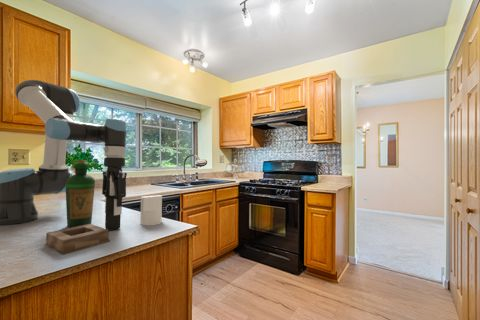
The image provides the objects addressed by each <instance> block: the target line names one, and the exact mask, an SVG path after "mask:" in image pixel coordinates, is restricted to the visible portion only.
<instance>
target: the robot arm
mask: <svg viewBox="0 0 480 320" xmlns="http://www.w3.org/2000/svg"><path fill="white" fill-rule="evenodd" d="M14 95H15V98H16V99H17V100H18V101H19V102H20V104H21V105H23V106H24V107H26V108H27V107H28V108H29V109H30V110H31V111H32V112H33V113H34V114H35V115H36V116H37V117H38V118H39V119H40V120H41V121H42V122H43V123H44V124H45V125H44V132H45V139H44V149H43V150H44V151H43V162H42V164H41V165H40V166H38V170H35V168H32V167H30V168H28V167H26V168H15V169H9V170H8V169H7V170H3V171H1V172H0V226H7V225H14V224H15V225H18V224H22V223H28V222H31V221H32V222H33V221H35V220H37V219H38V218H39V213H38V212H39V211H38V210H37V207H36V205H35V202H34V198H35V197H34V196H40V195H41V196H42V195H52V194H54V195H56V194H62V193H66V186H65V182H66V181H67V179H68V178H69V177H71V176H73V175H74V174H73V172H72V171H71V170H69V169H70V168H69V166H67V165H66V161H67V158H66V157H67V148H68V141H74V142H75V141H76V142H86V143H92V144H102V143H104V148H103V151H104V153H103V154H104V156H105V157H103V166H104V167H107V168H106V170H103V171H102V191H101V194H102V195H104V197H105V199H104V203H105V205H104V213H105V214H106V196H107V195H110V175H111V176H112V182H113V183H114V189H115V196H116V197H115V198H114V215H120V214H121V215H122V210H123V209H122V208H123V199H124V198H126V197H127V187H126V186H127V175H128V174H127V172H123V167H126V158H125V157H126V144H127V143H126V142H127V141H126V140H127V123H126V121H125V120H123V119H119V118H106V120H105V122H104V124H102V125H101V124H94V123H88V122H80V121H76V120H75V121H74V120H72V117H73V116H74V114H75V113H77V112H79V109H80V105H81V101H80V97H79V95H78V93H77V92H76V91H75V90H73V89H71V88H68V87H66V86H61V85H58V84H54V83H50V82H45V81H42V80H38V79H28V80H24V81H21V82H20V83H18V84H17V85H16V87H15V89H14Z"/></svg>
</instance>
